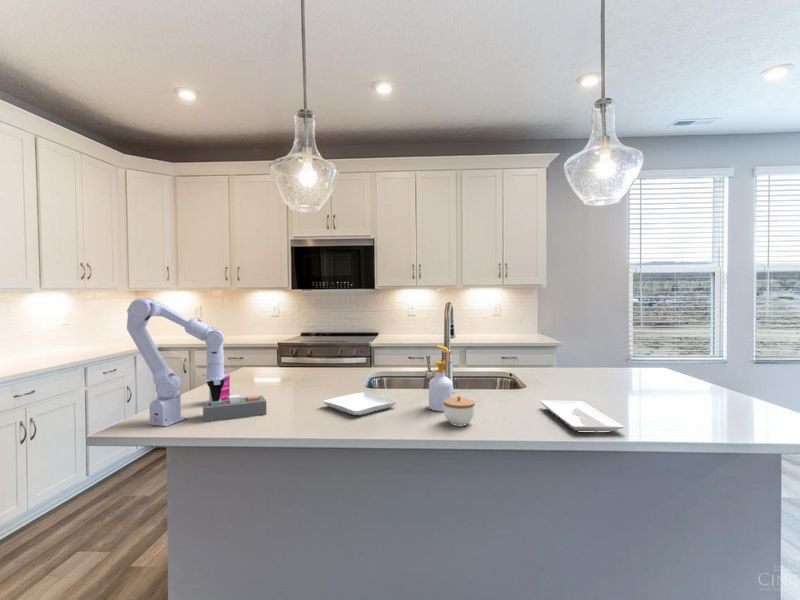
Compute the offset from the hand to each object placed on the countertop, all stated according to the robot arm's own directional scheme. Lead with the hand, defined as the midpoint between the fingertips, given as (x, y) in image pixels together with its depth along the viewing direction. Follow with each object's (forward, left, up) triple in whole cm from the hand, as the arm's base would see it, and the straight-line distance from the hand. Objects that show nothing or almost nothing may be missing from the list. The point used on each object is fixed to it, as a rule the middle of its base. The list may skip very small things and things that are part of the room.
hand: (215, 400), depth 156 cm
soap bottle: (+36, -74, -6) cm, 83 cm away
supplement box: (+16, +13, -6) cm, 22 cm away
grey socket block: (+4, -4, -6) cm, 9 cm away
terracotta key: (+9, -9, -4) cm, 13 cm away
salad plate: (+27, -44, -7) cm, 53 cm away
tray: (+37, -124, -7) cm, 129 cm away
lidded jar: (+20, -84, -6) cm, 87 cm away
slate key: (0, 0, -4) cm, 4 cm away
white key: (+5, -4, -3) cm, 7 cm away
